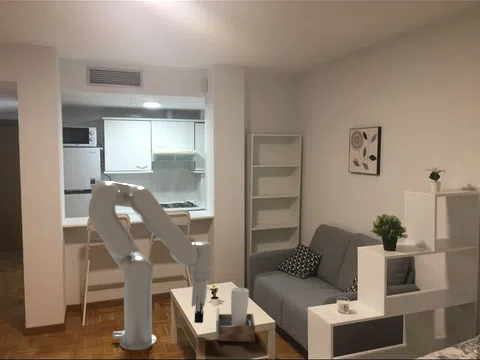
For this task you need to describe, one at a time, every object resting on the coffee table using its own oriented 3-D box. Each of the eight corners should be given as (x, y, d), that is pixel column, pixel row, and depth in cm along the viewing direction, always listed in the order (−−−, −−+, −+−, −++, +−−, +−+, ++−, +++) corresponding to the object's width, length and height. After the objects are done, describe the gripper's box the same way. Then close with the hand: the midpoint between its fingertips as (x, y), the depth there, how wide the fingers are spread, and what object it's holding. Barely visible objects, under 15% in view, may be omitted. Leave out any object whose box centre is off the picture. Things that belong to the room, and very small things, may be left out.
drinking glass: (249, 327, 156) (250, 288, 157) (244, 332, 149) (246, 292, 150) (232, 325, 158) (234, 286, 159) (227, 330, 151) (229, 290, 152)
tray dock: (218, 342, 147) (218, 326, 147) (219, 328, 160) (219, 313, 160) (254, 342, 148) (255, 326, 148) (252, 328, 160) (252, 313, 160)
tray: (216, 339, 147) (216, 320, 147) (217, 325, 160) (217, 308, 159) (252, 339, 148) (252, 320, 147) (250, 325, 160) (250, 308, 160)
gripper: (192, 269, 160) (190, 314, 160) (188, 279, 145) (186, 329, 146) (211, 269, 160) (209, 315, 161) (209, 280, 145) (207, 330, 146)
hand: (198, 322), depth 153 cm, fingers closed
